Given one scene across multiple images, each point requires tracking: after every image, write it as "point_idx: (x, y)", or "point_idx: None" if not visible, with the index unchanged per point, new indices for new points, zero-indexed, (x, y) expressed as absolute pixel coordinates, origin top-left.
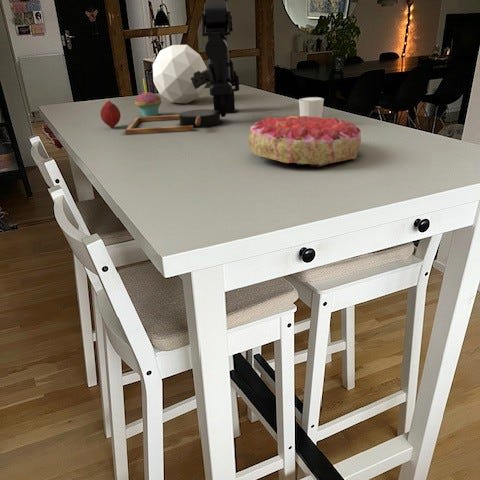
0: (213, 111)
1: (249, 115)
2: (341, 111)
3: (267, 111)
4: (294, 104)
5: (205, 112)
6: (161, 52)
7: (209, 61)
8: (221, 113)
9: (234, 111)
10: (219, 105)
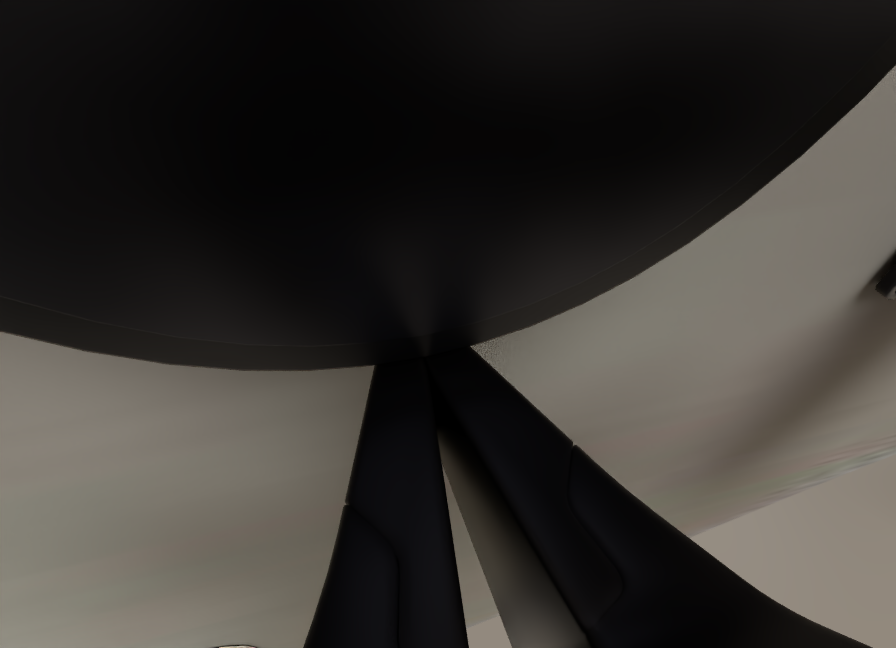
0: (467, 252)
1: (653, 404)
2: None
3: (708, 452)
4: (778, 487)
5: (367, 4)
6: None
7: None
8: (373, 371)
9: (880, 290)
10: (341, 528)
